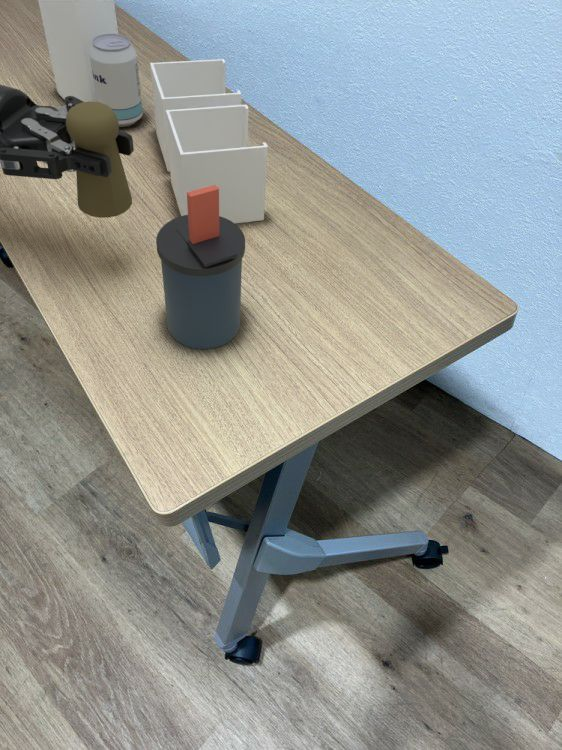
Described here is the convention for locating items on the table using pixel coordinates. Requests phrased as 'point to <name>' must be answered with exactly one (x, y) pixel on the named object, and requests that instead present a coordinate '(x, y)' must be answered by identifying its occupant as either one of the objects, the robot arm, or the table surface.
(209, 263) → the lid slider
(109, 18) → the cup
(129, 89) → the beverage can
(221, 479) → the table surface
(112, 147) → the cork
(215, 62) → the storage container
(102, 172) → the robot arm
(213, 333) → the travel cup
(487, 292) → the table surface
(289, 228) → the table surface
